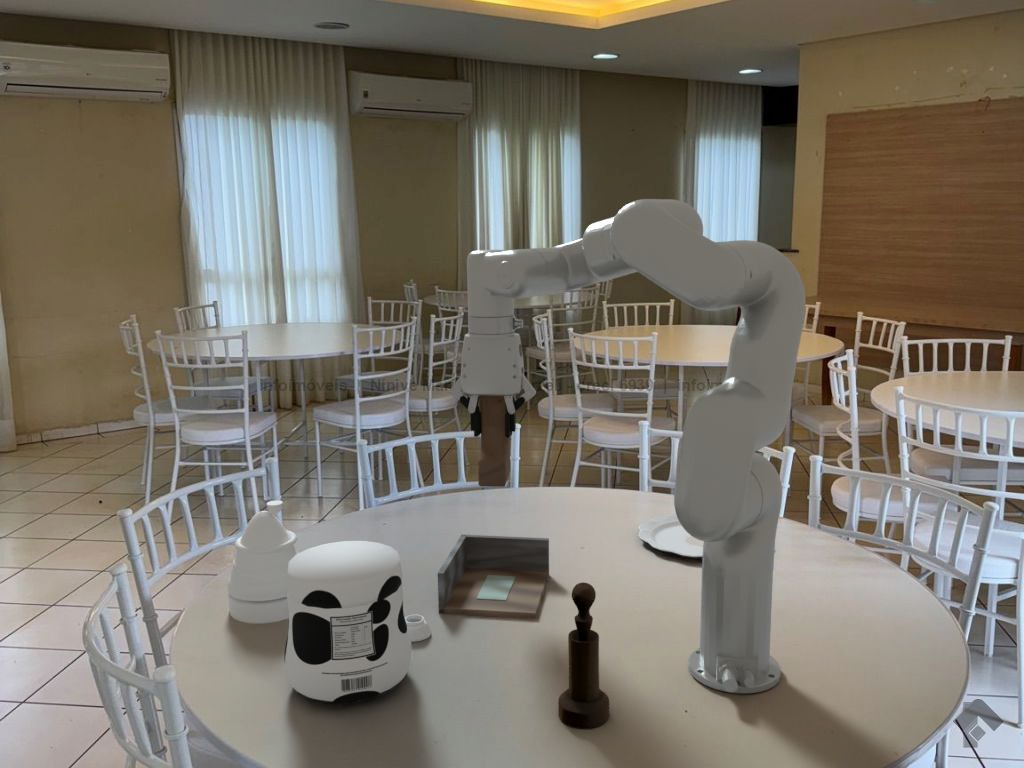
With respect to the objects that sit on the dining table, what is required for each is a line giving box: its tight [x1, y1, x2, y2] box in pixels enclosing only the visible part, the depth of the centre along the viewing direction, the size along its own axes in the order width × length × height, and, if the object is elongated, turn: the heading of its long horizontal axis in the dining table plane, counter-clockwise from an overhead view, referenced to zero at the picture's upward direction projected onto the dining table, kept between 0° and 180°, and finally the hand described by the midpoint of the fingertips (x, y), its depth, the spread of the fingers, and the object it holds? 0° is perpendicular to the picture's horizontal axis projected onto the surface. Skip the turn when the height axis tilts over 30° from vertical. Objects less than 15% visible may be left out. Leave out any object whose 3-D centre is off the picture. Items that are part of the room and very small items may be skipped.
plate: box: [638, 513, 703, 560], centre depth 175 cm, size 25×25×2 cm
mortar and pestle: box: [558, 582, 610, 730], centre depth 112 cm, size 7×6×18 cm
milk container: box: [283, 540, 412, 705], centre depth 122 cm, size 17×17×18 cm
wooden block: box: [477, 396, 511, 488], centre depth 147 cm, size 9×4×18 cm, turn 175°
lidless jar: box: [404, 614, 432, 643], centre depth 137 cm, size 5×3×5 cm
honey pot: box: [227, 500, 299, 625], centre depth 147 cm, size 13×13×18 cm
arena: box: [437, 534, 550, 620], centre depth 151 cm, size 18×16×7 cm
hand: (493, 434), depth 147 cm, fingers closed on wooden block, 4 cm apart
